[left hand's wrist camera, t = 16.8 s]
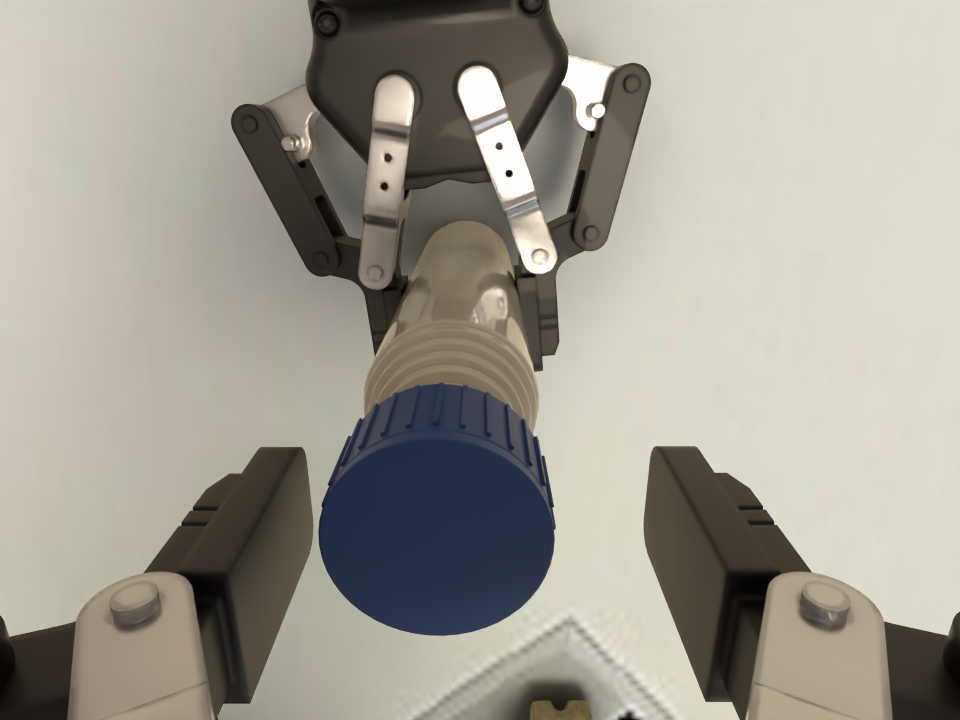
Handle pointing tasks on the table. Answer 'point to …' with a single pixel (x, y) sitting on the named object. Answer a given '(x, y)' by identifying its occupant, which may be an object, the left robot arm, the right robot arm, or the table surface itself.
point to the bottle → (459, 324)
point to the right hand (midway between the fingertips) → (470, 368)
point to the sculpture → (573, 716)
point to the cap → (439, 512)
